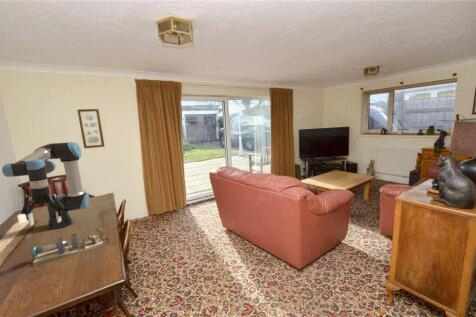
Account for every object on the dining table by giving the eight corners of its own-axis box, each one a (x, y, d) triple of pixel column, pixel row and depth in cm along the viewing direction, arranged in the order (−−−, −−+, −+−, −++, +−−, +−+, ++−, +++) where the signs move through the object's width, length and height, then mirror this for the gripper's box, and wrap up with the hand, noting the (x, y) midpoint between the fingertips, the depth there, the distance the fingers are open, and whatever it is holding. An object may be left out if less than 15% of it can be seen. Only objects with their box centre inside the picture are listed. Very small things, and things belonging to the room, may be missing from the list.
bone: (86, 244, 134) (87, 228, 138) (88, 245, 139) (88, 229, 143) (102, 242, 138) (103, 225, 142) (103, 243, 143) (103, 227, 147)
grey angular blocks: (60, 250, 134) (58, 236, 133) (108, 238, 148) (106, 225, 147) (58, 258, 126) (56, 243, 125) (109, 244, 140) (107, 230, 139)
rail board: (36, 257, 128) (36, 254, 128) (108, 238, 148) (108, 236, 148) (33, 265, 120) (32, 263, 120) (109, 244, 140) (109, 242, 140)
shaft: (32, 259, 121) (30, 248, 120) (34, 254, 126) (32, 244, 125) (67, 250, 130) (66, 239, 129) (68, 245, 135) (67, 235, 134)
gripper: (7, 191, 116) (14, 229, 119) (61, 186, 121) (67, 223, 124) (18, 187, 123) (24, 223, 126) (68, 183, 128) (73, 218, 131)
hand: (45, 223), depth 125 cm, fingers open, 13 cm apart
